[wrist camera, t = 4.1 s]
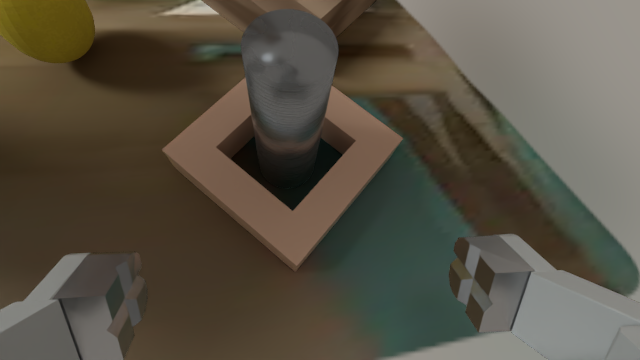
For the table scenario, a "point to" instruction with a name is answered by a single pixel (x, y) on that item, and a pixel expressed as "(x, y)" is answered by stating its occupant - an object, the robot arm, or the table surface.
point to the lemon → (48, 28)
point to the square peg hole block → (325, 3)
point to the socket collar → (257, 202)
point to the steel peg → (288, 90)
